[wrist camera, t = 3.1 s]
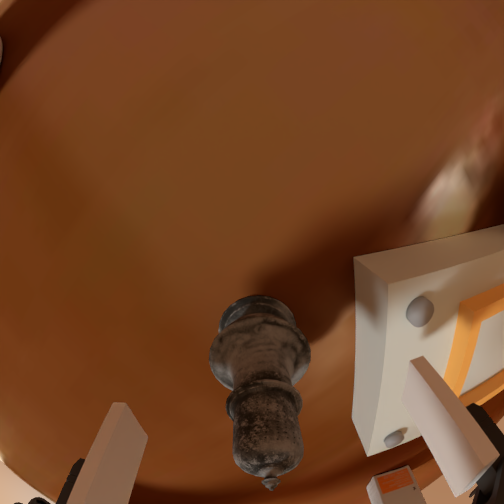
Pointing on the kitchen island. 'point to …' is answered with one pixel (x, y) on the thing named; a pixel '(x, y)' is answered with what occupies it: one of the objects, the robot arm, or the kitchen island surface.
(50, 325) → the kitchen island surface
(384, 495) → the skincare box
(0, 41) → the cylinder vase
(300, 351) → the chess piece
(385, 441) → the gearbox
